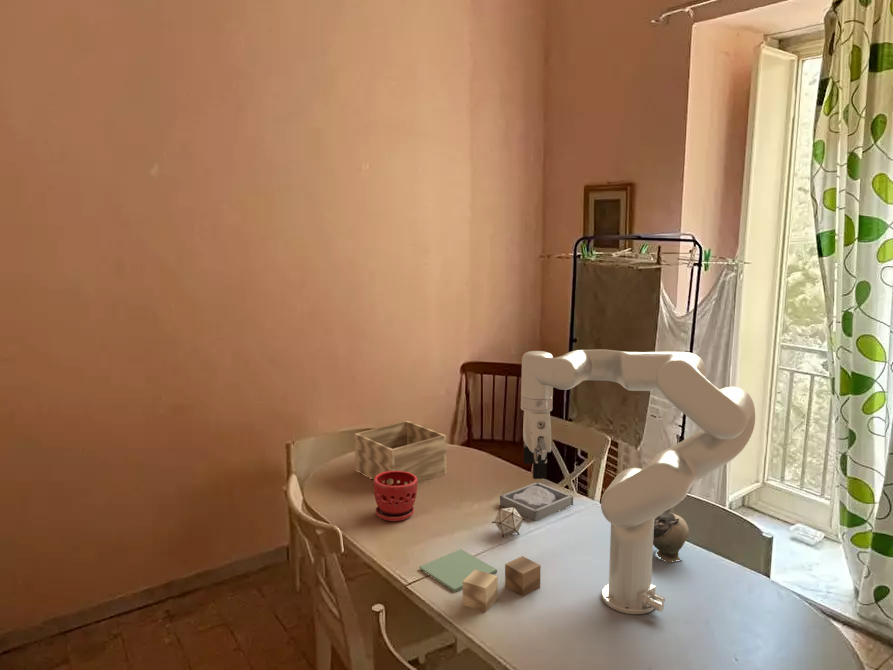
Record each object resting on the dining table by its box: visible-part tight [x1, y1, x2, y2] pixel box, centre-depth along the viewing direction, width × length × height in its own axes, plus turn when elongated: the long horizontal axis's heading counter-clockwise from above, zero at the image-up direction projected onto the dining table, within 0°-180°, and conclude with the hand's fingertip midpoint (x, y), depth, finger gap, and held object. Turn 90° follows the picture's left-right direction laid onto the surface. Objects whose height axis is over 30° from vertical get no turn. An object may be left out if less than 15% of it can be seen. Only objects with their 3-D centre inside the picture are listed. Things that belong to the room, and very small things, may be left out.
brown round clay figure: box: [653, 509, 690, 563], centre depth 175 cm, size 10×12×10 cm
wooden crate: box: [354, 420, 448, 485], centre depth 235 cm, size 23×23×14 cm
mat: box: [419, 548, 498, 593], centre depth 170 cm, size 14×14×1 cm
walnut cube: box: [504, 555, 541, 598], centre depth 162 cm, size 6×6×6 cm
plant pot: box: [373, 471, 418, 522], centre depth 201 cm, size 13×13×12 cm
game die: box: [491, 504, 527, 538], centre depth 189 cm, size 9×8×10 cm
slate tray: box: [499, 481, 574, 522], centre depth 208 cm, size 15×17×3 cm
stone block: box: [513, 486, 556, 509], centre depth 208 cm, size 12×5×10 cm
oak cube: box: [462, 570, 499, 613], centre depth 156 cm, size 6×6×6 cm
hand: (534, 470), depth 163 cm, fingers open, 9 cm apart
